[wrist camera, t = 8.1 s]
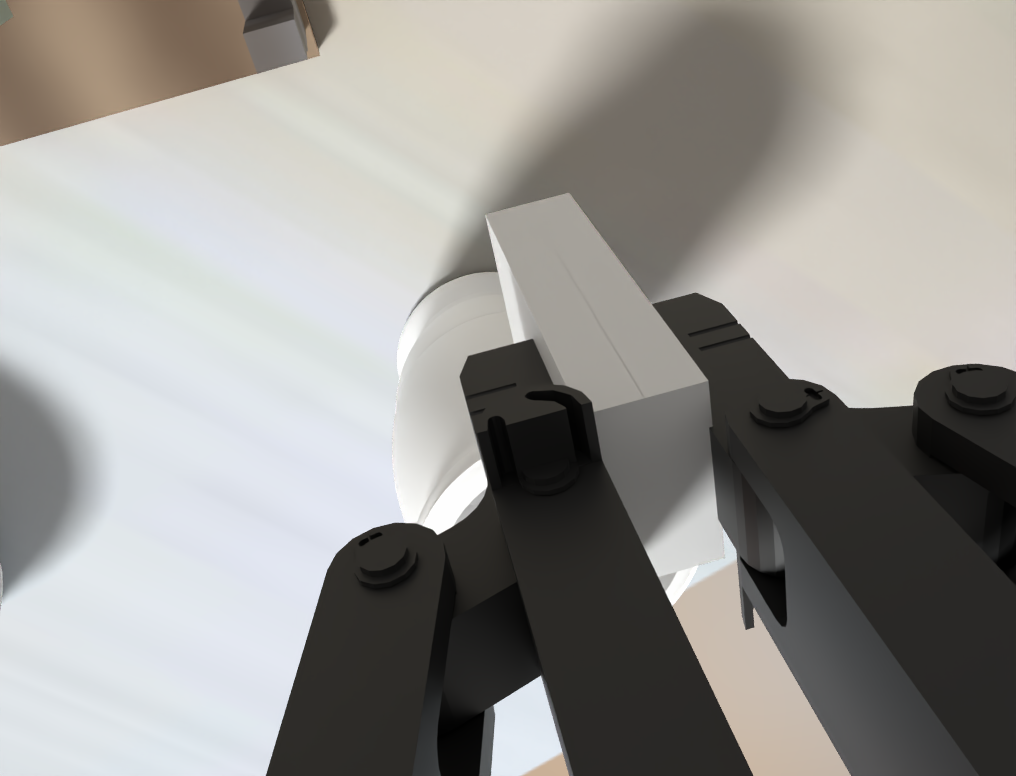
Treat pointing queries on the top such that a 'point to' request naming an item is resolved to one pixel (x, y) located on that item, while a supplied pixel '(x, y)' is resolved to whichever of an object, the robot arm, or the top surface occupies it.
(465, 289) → the jar
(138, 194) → the top surface
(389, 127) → the top surface
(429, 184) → the top surface
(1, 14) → the mint green stepped block
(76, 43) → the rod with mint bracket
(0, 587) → the ramekin
